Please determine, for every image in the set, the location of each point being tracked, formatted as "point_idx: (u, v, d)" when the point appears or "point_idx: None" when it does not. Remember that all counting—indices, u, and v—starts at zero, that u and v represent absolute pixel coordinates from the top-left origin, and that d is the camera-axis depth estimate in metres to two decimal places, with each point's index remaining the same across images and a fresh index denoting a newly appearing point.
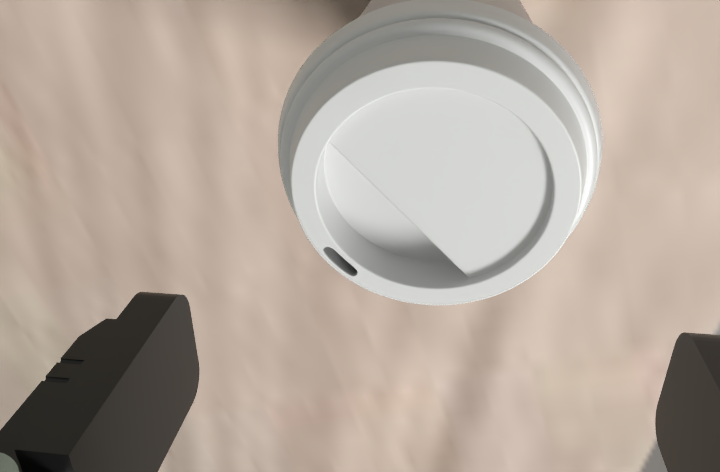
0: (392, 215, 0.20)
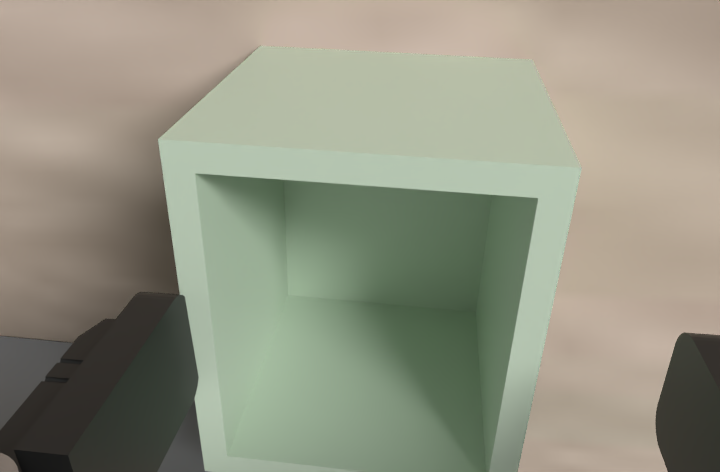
0: None
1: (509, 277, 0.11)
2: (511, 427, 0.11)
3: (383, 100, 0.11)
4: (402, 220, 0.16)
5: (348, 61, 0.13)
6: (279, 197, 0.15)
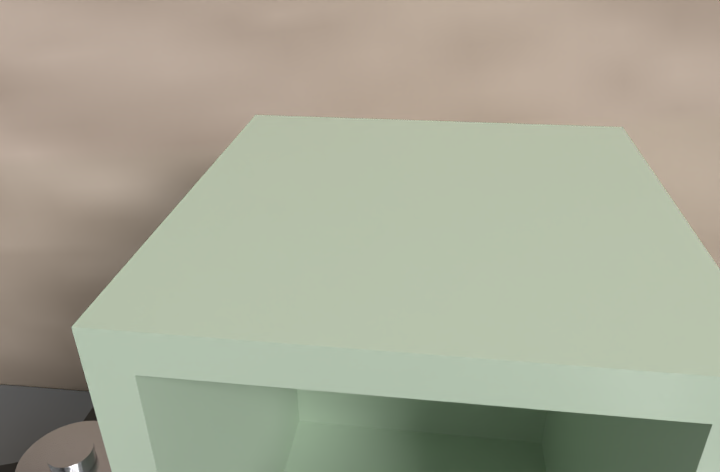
0: None
1: None
2: None
3: (429, 219, 0.07)
4: None
5: (373, 141, 0.10)
6: None
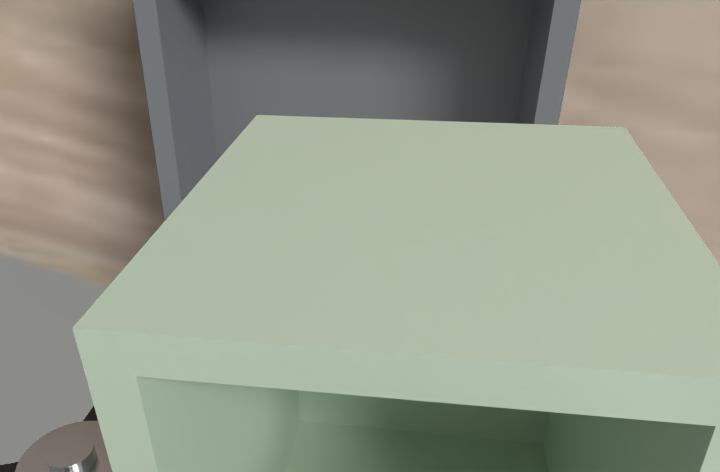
0: None
1: None
2: None
3: (430, 220, 0.07)
4: None
5: (374, 141, 0.10)
6: None
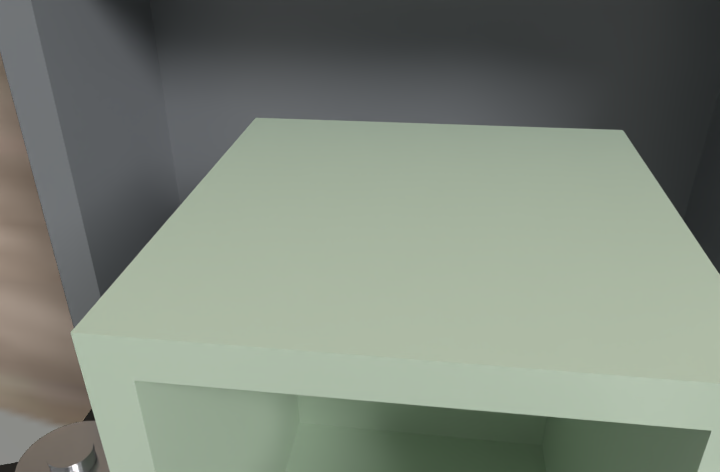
0: None
1: None
2: None
3: (428, 223, 0.07)
4: None
5: (373, 144, 0.10)
6: None
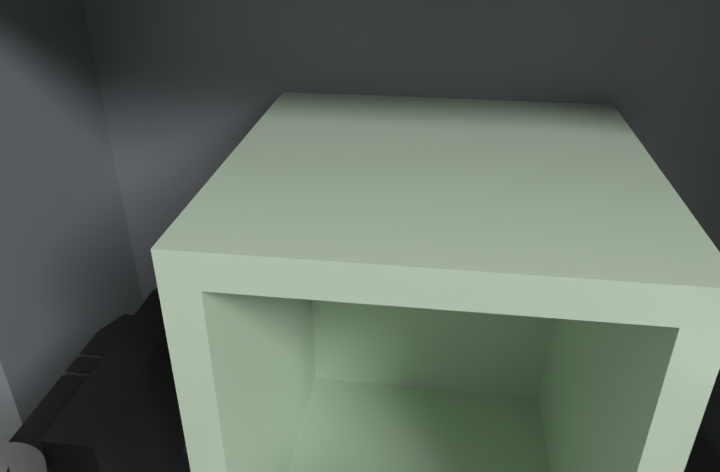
0: None
1: (611, 401, 0.09)
2: None
3: (443, 174, 0.09)
4: None
5: (390, 113, 0.11)
6: None
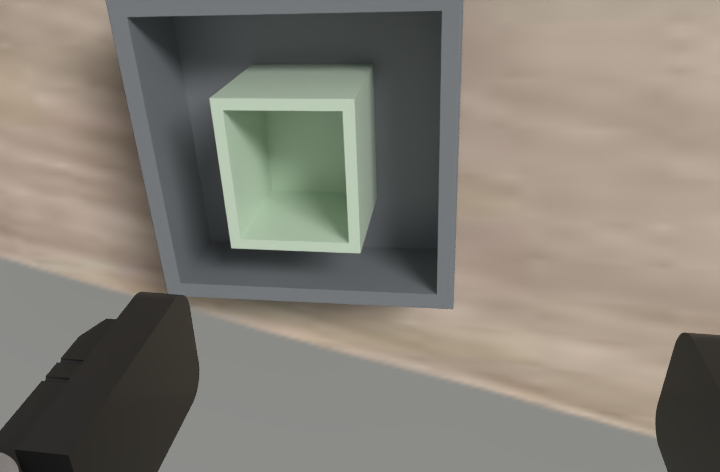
0: None
1: None
2: (352, 211, 0.28)
3: (296, 83, 0.28)
4: (323, 145, 0.32)
5: (289, 69, 0.30)
6: (263, 136, 0.32)
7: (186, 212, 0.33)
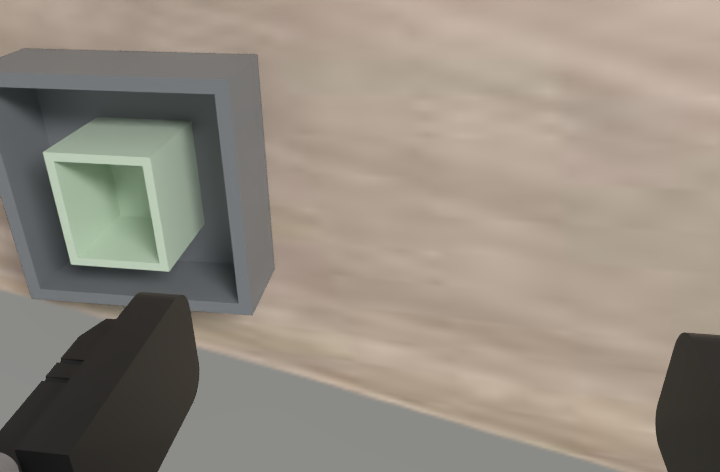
0: None
1: None
2: (159, 240, 0.36)
3: (118, 139, 0.36)
4: None
5: (122, 123, 0.38)
6: (107, 173, 0.40)
7: (48, 232, 0.41)
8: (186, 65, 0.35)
